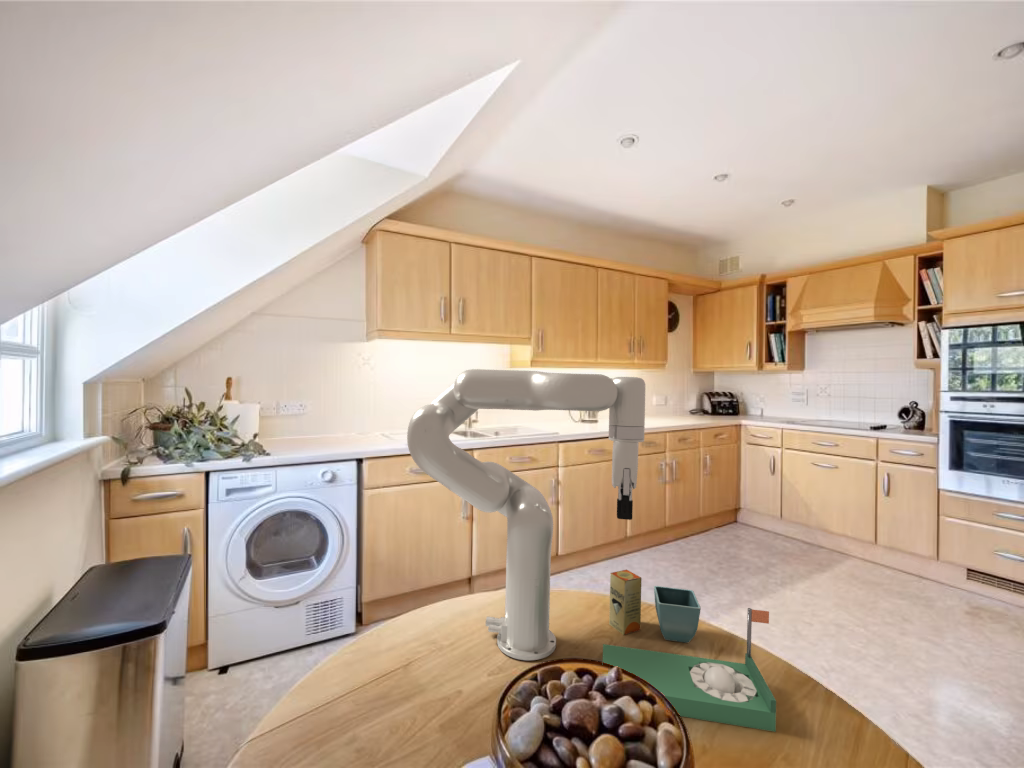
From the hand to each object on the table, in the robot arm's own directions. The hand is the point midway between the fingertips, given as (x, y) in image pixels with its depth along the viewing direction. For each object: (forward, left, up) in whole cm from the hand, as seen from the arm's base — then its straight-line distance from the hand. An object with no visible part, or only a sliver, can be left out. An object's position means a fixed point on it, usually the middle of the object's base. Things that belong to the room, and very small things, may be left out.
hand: (624, 518), depth 96 cm
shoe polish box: (+1, +7, -27) cm, 28 cm away
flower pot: (+12, +6, -27) cm, 30 cm away
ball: (+16, -13, -25) cm, 32 cm away
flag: (+24, -7, -27) cm, 37 cm away
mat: (+10, -13, -27) cm, 32 cm away
